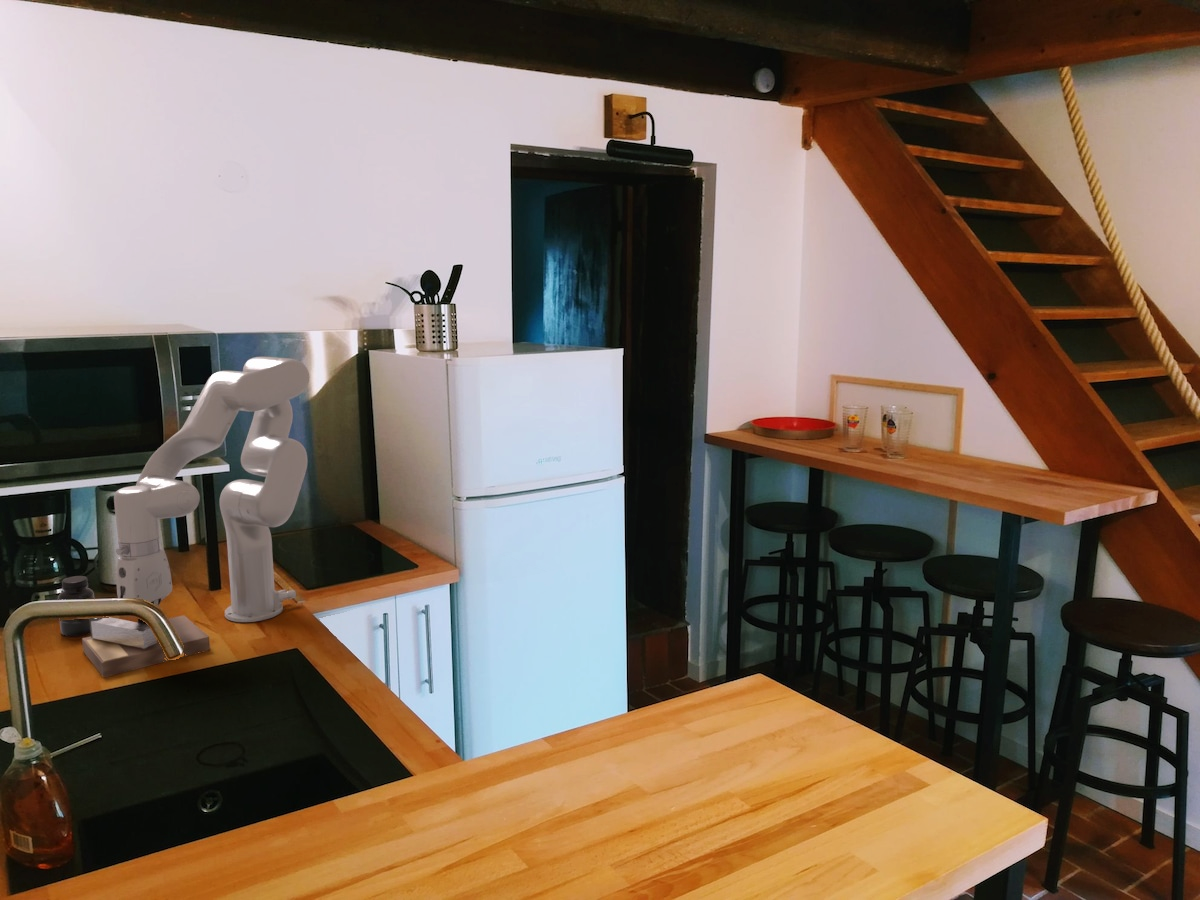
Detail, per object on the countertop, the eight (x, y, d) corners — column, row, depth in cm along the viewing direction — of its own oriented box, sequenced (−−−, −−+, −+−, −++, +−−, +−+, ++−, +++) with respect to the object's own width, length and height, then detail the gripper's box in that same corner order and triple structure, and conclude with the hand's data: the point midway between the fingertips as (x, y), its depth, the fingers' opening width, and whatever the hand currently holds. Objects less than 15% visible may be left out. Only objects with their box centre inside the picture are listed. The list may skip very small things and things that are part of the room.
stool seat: (185, 627, 196) (183, 614, 196) (210, 650, 184) (208, 635, 184) (83, 652, 183) (82, 637, 182) (103, 677, 171) (102, 662, 171)
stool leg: (86, 637, 181) (84, 619, 181) (100, 632, 184) (98, 614, 184) (144, 649, 176) (142, 630, 175) (157, 643, 179) (155, 625, 178)
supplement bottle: (64, 640, 189) (58, 586, 187) (58, 630, 194) (52, 578, 192) (100, 632, 193) (94, 580, 191) (93, 623, 198) (88, 572, 196)
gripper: (124, 559, 171) (132, 648, 174) (182, 538, 185) (189, 621, 188) (94, 555, 173) (103, 643, 177) (154, 535, 187) (162, 617, 191)
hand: (148, 632), depth 182 cm, fingers closed
